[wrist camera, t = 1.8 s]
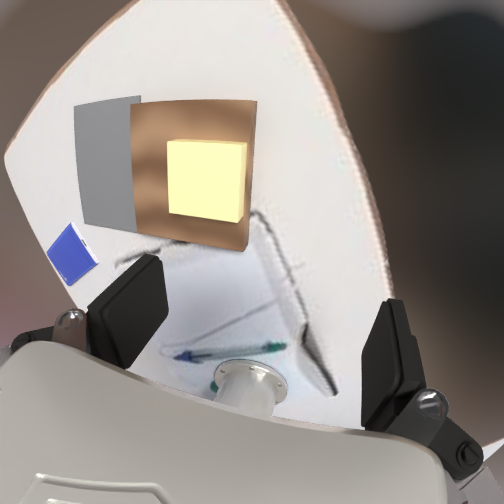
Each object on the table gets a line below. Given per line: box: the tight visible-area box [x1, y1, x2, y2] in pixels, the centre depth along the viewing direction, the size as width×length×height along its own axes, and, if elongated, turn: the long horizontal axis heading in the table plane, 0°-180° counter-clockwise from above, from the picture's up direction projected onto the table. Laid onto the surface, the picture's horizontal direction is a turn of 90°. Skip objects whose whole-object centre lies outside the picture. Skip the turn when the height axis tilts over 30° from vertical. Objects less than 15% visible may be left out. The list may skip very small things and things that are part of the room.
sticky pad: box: [167, 139, 247, 223], centre depth 28 cm, size 8×8×2 cm
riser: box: [130, 100, 257, 252], centre depth 30 cm, size 16×14×2 cm
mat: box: [74, 96, 141, 234], centre depth 33 cm, size 18×12×1 cm, turn 178°
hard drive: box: [47, 222, 99, 286], centre depth 43 cm, size 2×8×12 cm
